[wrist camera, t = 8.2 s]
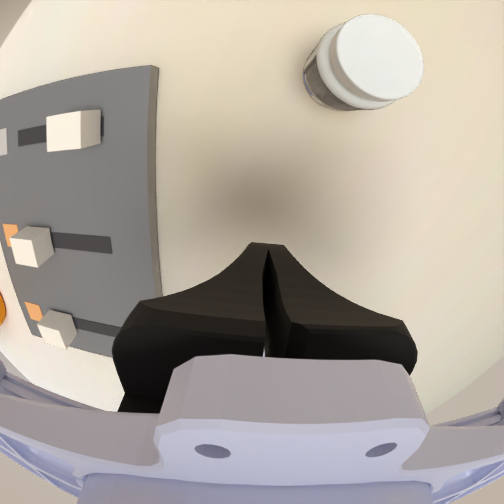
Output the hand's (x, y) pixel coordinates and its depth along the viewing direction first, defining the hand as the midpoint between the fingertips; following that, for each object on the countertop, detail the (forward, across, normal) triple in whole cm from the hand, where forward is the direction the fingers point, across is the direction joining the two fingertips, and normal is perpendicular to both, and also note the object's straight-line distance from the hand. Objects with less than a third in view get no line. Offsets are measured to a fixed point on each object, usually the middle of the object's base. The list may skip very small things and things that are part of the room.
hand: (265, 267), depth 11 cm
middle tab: (+8, +19, +4) cm, 21 cm away
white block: (+8, +19, +13) cm, 24 cm away
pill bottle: (+10, -4, -9) cm, 14 cm away
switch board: (+10, +17, +4) cm, 20 cm away
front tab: (+8, +13, -5) cm, 16 cm away
